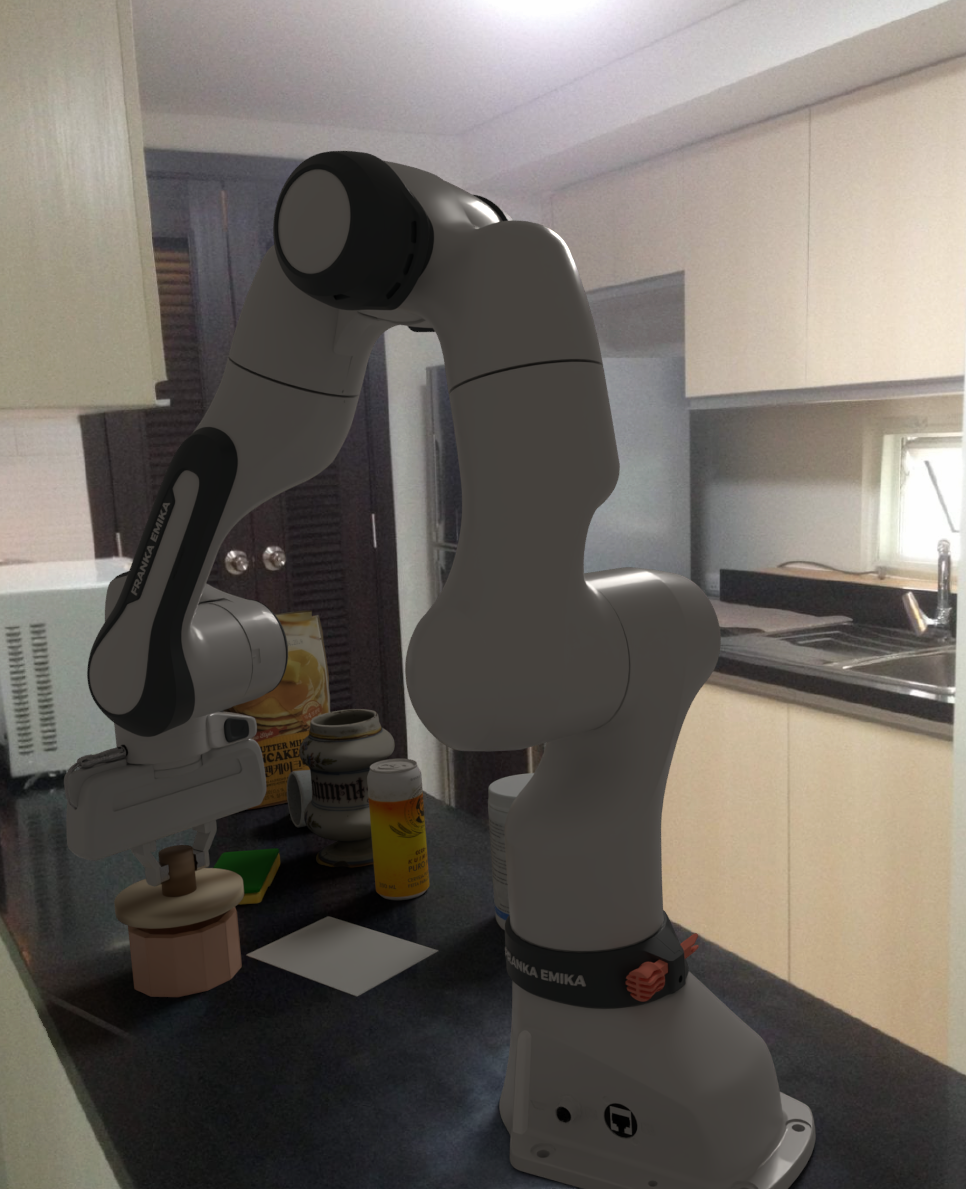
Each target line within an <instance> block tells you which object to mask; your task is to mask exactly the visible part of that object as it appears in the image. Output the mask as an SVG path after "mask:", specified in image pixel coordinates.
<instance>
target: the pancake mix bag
mask: <svg viewBox="0 0 966 1189" xmlns="http://www.w3.org/2000/svg"><path fill="white" fill-rule="evenodd" d="M274 614H275V615H276V616H277V618H278V619H279V621H280V623H281V625H282V627H283V629H284V632H285V635H286V638H287V644H288V662H287V667H286V671H285V674H284V676H283V678H282V680H281V682H280V683H279V685H278V686H277V687H276V688H275V689H274V690H273V691H271V692H269V693H267V694H265V695H263V696H261V697H259V698H257V699H255V700H252V701H249V702H246V703H242V704H239V705H236V706H233V707H231V708H228V709H226V710H223V712H231V713H237V714H242V715H247V716H251V717H253V718H255V720H256V725H257V732H256V735H255V736H254V737H253V738H251V739H253V740H255V741H256V742H257V743H258V745H259V746H260V749H261V752H262V757H263V762H264V768H265V776H266V794H265V796H264V798H263V801H262V803H261V804H260V805H258V806H255V807H252V808H249V809H248V810H255V809H260V808H267V807H271V806H276V805H278V806H279V805H282V804H288V801H287V781H288V777H289V774H290V773H291V772H293V771H302V770H310V767H308V766H307V765H305V764H304V763H303V761H302V760H301V758H300V755H299V749H300V745H301V743H302V742H303V740H304V739H305V738H306V737H307V736H308V735H309V730H310V723H311V720H312V719H313V718H314V717H316V716H319V715H322V714H325V713H329V712H331V694H330V686H329V685H330V676H329V668H328V661H327V654H326V653H327V652H326V648H325V643H324V632H323V627H322V623H321V620H320V619H321V618H320V615H319V614H316V615H312V614H313V610H298V611H291V612H283V613H274Z"/></svg>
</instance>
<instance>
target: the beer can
mask: <svg viewBox="0 0 966 1189" xmlns="http://www.w3.org/2000/svg"><path fill="white" fill-rule="evenodd" d="M422 778H423V777H422V771H421V769H420V767H419V766H418V762H417V761H416V760H414V759H409V758H389V759H387V760H383V761H379V762H376V763H374V764H372V765H371V766H370V770H369V773H368V776H367V784H368V797H369V810H370V822H371V835H372V848H373V861H374V864H373V872H374V881H375V882H374V884H375V886H374V887H375V892H376V893H377V894H378V895H379V896H381V897H382V898H384V899H386V900H390V901H405V900H406V901H407V900H411V899H415V898H418V897H420V896H422V895H423V894H424V893H425V892H426V891H427V890H428V888H429V887H430V873H429V860H428V859H429V857H428V845H427V833H426V818H425V804H424V803H425V802H424V791H423V779H422Z"/></svg>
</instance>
